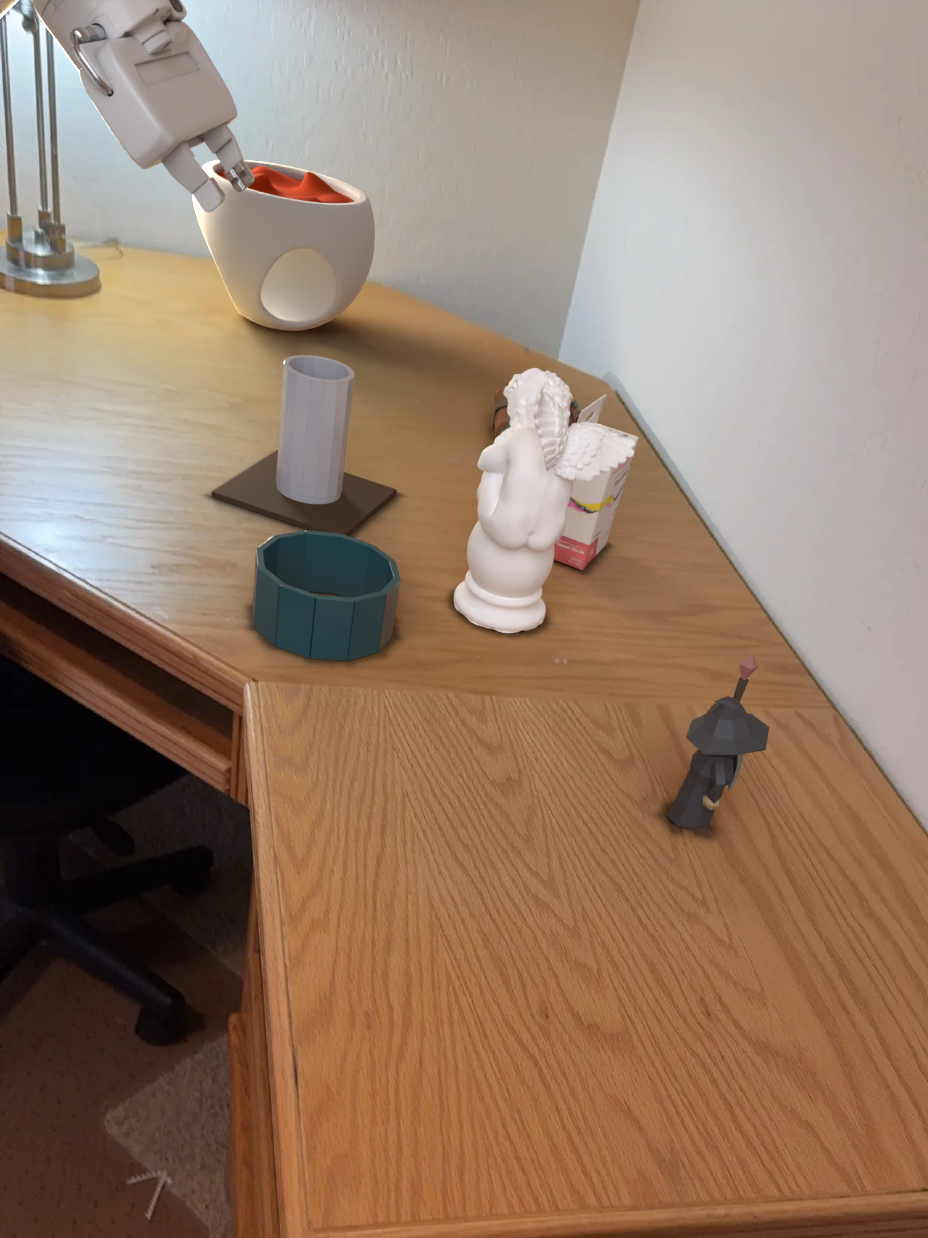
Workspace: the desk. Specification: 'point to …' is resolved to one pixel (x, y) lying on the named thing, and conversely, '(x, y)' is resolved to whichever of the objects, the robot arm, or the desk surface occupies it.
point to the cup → (313, 428)
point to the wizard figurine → (717, 755)
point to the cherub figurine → (529, 500)
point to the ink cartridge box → (592, 505)
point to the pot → (289, 244)
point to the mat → (337, 517)
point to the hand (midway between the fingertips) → (233, 196)
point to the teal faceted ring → (320, 619)
